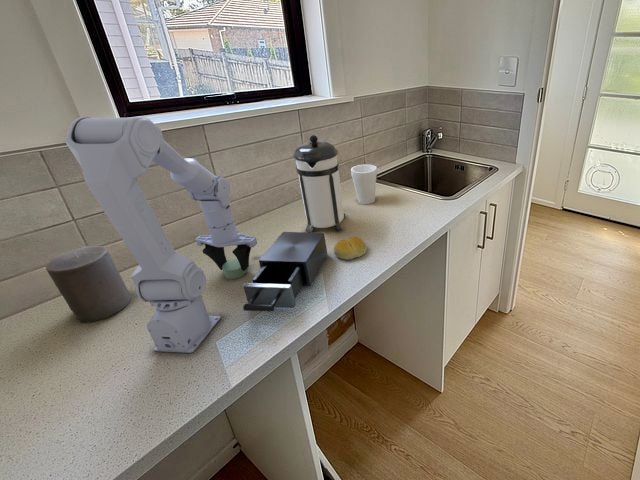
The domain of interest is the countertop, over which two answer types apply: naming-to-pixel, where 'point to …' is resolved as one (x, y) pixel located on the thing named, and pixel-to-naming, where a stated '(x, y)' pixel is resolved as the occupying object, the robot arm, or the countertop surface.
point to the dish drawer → (274, 287)
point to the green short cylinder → (232, 269)
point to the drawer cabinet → (298, 252)
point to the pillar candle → (89, 283)
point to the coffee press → (320, 184)
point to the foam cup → (364, 182)
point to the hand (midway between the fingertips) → (235, 267)
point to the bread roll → (350, 248)
